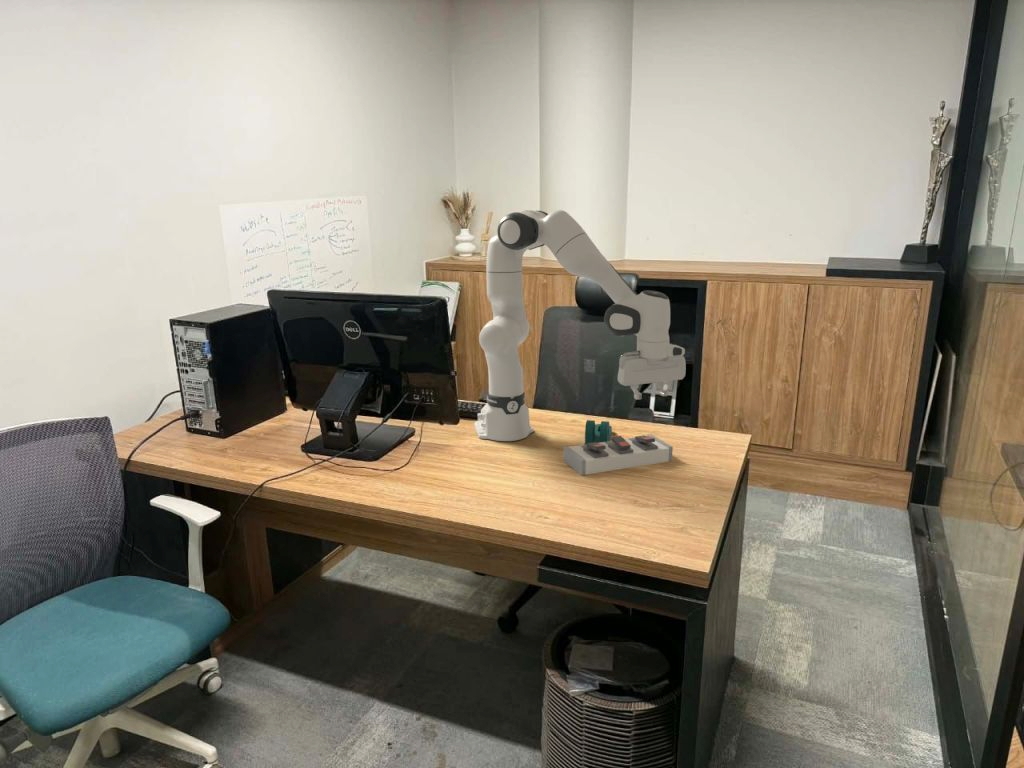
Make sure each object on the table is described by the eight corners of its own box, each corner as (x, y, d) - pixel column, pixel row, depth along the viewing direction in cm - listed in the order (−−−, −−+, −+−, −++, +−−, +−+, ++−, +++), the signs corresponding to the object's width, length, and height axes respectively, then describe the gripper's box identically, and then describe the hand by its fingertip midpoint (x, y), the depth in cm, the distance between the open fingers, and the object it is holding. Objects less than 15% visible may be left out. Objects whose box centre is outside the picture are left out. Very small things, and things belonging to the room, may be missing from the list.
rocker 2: (611, 440, 203) (611, 436, 203) (620, 438, 204) (620, 435, 204) (621, 449, 198) (621, 446, 198) (630, 448, 199) (630, 445, 199)
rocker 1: (586, 446, 201) (586, 443, 200) (595, 445, 202) (595, 441, 201) (596, 450, 195) (595, 446, 195) (605, 449, 196) (605, 445, 196)
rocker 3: (635, 439, 206) (635, 436, 206) (644, 438, 207) (644, 435, 207) (645, 443, 200) (645, 439, 200) (655, 441, 201) (654, 438, 201)
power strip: (563, 460, 204) (563, 445, 203) (650, 447, 214) (650, 432, 213) (581, 475, 193) (581, 459, 192) (672, 460, 203) (672, 445, 202)
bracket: (606, 449, 213) (607, 425, 211) (584, 448, 215) (585, 424, 213) (612, 431, 230) (613, 408, 228) (592, 429, 232) (592, 407, 230)
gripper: (625, 355, 188) (624, 404, 192) (690, 348, 195) (687, 396, 199) (614, 350, 194) (613, 398, 197) (677, 344, 201) (675, 390, 204)
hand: (650, 397), depth 198 cm, fingers open, 7 cm apart
